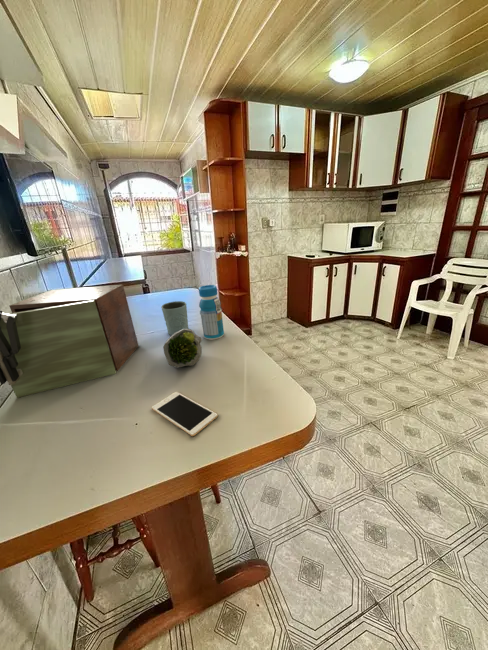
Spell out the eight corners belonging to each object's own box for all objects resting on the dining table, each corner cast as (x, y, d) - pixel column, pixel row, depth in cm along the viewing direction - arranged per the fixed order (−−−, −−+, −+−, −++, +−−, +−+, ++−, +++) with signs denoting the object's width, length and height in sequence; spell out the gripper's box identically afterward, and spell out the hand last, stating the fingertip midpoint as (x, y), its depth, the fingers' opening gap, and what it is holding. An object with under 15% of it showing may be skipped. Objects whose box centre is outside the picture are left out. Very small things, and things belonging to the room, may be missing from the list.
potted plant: (205, 340, 95) (217, 345, 81) (183, 370, 92) (191, 381, 78) (177, 320, 91) (184, 322, 77) (154, 351, 88) (157, 359, 75)
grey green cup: (177, 325, 120) (173, 300, 116) (195, 328, 115) (191, 302, 111) (161, 334, 112) (155, 307, 107) (180, 337, 107) (174, 309, 103)
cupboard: (117, 371, 86) (95, 298, 77) (39, 376, 88) (8, 305, 78) (138, 346, 103) (123, 284, 94) (72, 350, 104) (50, 289, 95)
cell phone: (176, 393, 72) (176, 391, 72) (218, 416, 63) (218, 414, 62) (151, 409, 67) (150, 407, 67) (192, 437, 57) (192, 435, 57)
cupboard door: (114, 382, 80) (91, 306, 71) (8, 410, 71) (-34, 327, 62) (116, 371, 86) (94, 299, 77) (18, 395, 78) (-19, 318, 69)
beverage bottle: (207, 342, 101) (199, 291, 94) (201, 334, 109) (193, 286, 101) (227, 337, 104) (222, 287, 97) (220, 329, 111) (214, 283, 104)
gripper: (13, 284, 67) (46, 365, 75) (-65, 295, 61) (-19, 381, 70) (2, 290, 60) (40, 378, 69) (-86, 302, 55) (-33, 396, 64)
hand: (10, 379), depth 70 cm, fingers closed on cupboard door, 2 cm apart
